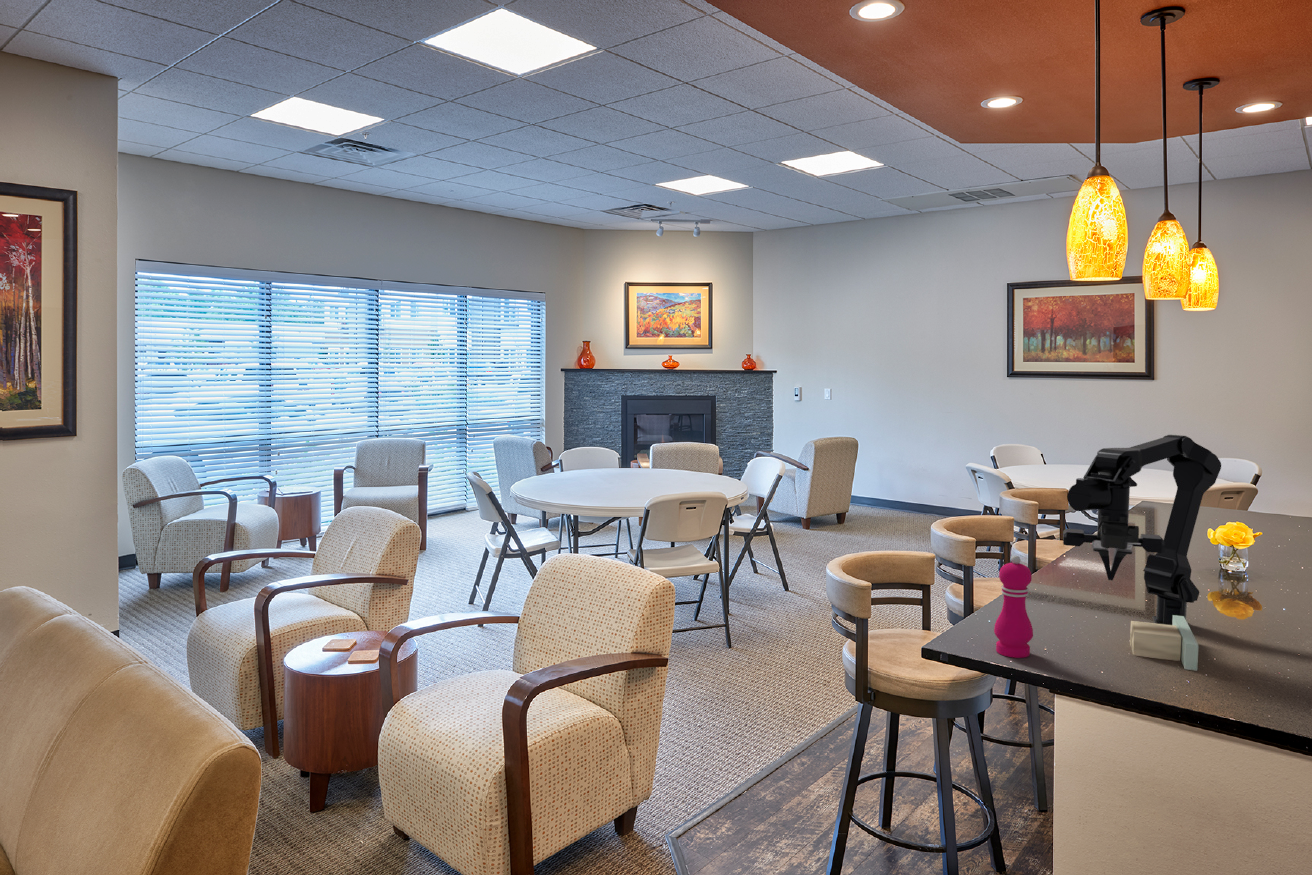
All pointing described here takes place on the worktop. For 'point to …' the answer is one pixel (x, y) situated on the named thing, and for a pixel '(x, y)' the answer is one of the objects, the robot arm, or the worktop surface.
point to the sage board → (1186, 643)
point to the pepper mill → (1014, 611)
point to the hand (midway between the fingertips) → (1110, 579)
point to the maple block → (1155, 640)
